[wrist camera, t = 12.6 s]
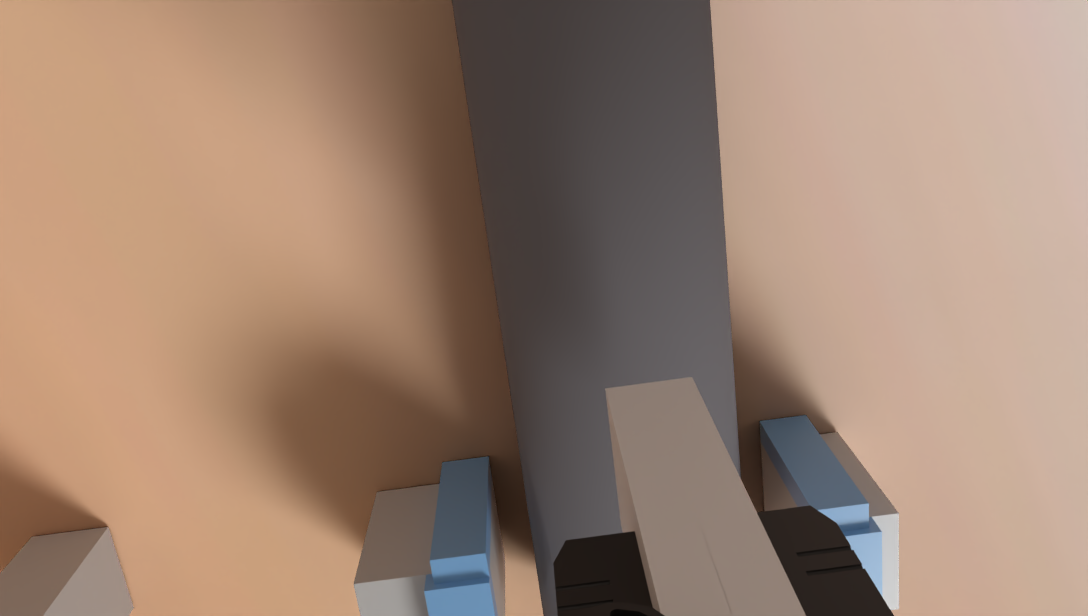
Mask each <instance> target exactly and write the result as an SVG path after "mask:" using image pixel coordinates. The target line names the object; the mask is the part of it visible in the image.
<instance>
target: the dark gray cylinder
mask: <svg viewBox="0 0 1088 616" xmlns="http://www.w3.org/2000/svg"><path fill="white" fill-rule="evenodd" d="M452 4H453V11H454V18H455V24H456V31H457V38H458V44H459V51H460V58H461V65H462V71H463V78H464V85H465V91H466V98H467V105H468V112H469V118H470V125H471V132H472V138H473V145H474V152H475V158H476V165H477V172H478V179H479V185H480V192H481V199H482V205H483V212H484V219H485V226H486V232H487V239H488V246H489V252H490V259H491V266H492V272H493V279H494V286H495V293H496V299H497V306H498V313H499V319H500V326H501V333H502V340H503V346H504V353H505V360H506V366H507V373H508V380H509V386H510V393H511V400H512V407H513V413H514V420H515V427H516V433H517V440H518V447H519V454H520V460H521V467H522V474H523V480H524V487H525V494H526V500H527V507H528V514H529V521H530V527H531V534H532V541H533V547H534V554H535V561H536V568H537V574H538V581H539V588H540V594H541V601H542V608H543V614H544V616H558V615H557V602H556V589H555V578H554V566H553V563H554V561H555V559H556V557H557V555H558V554H559V552H560V550H561V548H562V546H563V545H564V543H565V541H566V540H571V539H579V538H586V537H594V536H601V535H609V534H616V533H623V532H622V527H621V520H620V511H619V503H618V494H617V486H616V477H615V468H614V460H613V451H612V443H611V434H610V425H609V417H608V408H607V400H606V391H605V388H613V387H620V386H628V385H635V384H643V383H650V382H658V381H665V380H673V379H680V378H688V377H692V378H693V380H694V382H695V384H696V386H697V388H698V390H699V393H700V395H701V397H702V399H703V401H704V403H705V405H706V407H707V409H708V411H709V414H710V416H711V418H712V420H713V422H714V424H715V426H716V428H717V430H718V432H719V434H720V437H721V439H722V441H723V443H724V445H725V447H726V449H727V451H728V453H729V455H730V457H731V460H732V462H733V464H734V466H735V468H736V470H737V472H738V474H739V476H740V478H741V472H740V456H739V441H738V426H737V410H736V395H735V379H734V364H733V349H732V333H731V318H730V303H729V287H728V272H727V257H726V241H725V226H724V211H723V195H722V180H721V164H720V149H719V134H718V118H717V103H716V88H715V72H714V57H713V42H712V26H711V11H710V0H452Z"/></svg>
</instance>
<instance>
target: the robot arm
mask: <svg viewBox="0 0 1088 616" xmlns="http://www.w3.org/2000/svg"><path fill="white" fill-rule="evenodd" d="M605 391H606V400H607V408H608V417H609V425H610V434H611V443H612V451H613V460H614V468H615V477H616V486H617V494H618V503H619V511H620V520H621V527H622V532H623V533H616V534H609V535H601V536H594V537H586V538H579V539H571V540H566V541H565V543H564V545H563V546H562V548H561V550H560V552H559V554H558V555H557V557H556V559H555V561H554V563H553V566H554V578H555V589H556V602H557V615H558V616H894V615H893V613H892V612H891V610H890V608H889V607H888V605H887V604H886V602H885V600H884V599H883V597H882V596H881V594H880V592H879V591H878V589H877V587H876V586H875V584H874V583H873V581H872V579H871V578H870V576H869V574H868V573H867V571H866V570H865V569H863V567H862V563H861V562H860V560H859V558H858V557H857V555H856V553H855V552H854V550H851V545H850V544H849V542H848V540H847V539H846V537H845V536H844V534H843V532H842V531H841V529H840V527H839V526H838V524H837V523H836V522H835V521H833V520H832V519H830V518H829V517H827V516H826V515H824V514H823V513H821V512H819V511H818V510H816V509H815V508H813V507H812V506H810V505H809V506H801V507H794V508H786V509H779V510H771V511H764V512H756V510H755V508H754V506H753V504H752V501H751V499H750V497H749V495H748V493H747V491H746V489H745V487H744V485H743V483H742V481H741V478H740V476H739V474H738V472H737V470H736V468H735V466H734V464H733V462H732V460H731V457H730V455H729V453H728V451H727V449H726V447H725V445H724V443H723V441H722V439H721V437H720V434H719V432H718V430H717V428H716V426H715V424H714V422H713V420H712V418H711V416H710V414H709V411H708V409H707V407H706V405H705V403H704V401H703V399H702V397H701V395H700V393H699V390H698V388H697V386H696V384H695V382H694V380H693V378H692V377H688V378H680V379H673V380H665V381H658V382H650V383H643V384H635V385H628V386H620V387H613V388H605Z"/></svg>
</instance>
